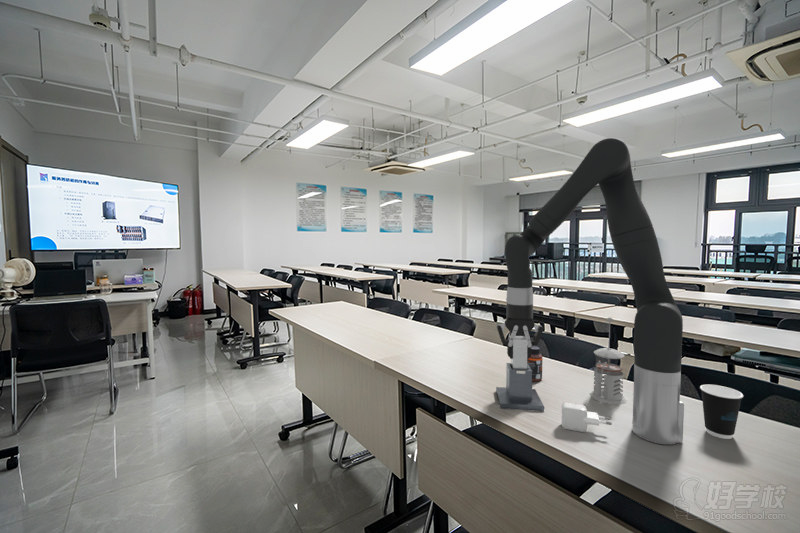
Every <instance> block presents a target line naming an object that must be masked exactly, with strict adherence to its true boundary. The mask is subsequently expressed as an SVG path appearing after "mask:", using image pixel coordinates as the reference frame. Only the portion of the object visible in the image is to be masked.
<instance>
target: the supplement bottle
mask: <svg viewBox="0 0 800 533" xmlns="http://www.w3.org/2000/svg"><path fill="white" fill-rule="evenodd" d="M540 350H541V349H540V347H538V346H532V347H531V357H530V358H529V360H528V359H527V364H528V365H529V367H530V368H531V370H532V382H540V381H542V380H543V355H542V354H541V353H540V352H541V351H540Z"/></svg>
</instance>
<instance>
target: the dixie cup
mask: <svg viewBox="0 0 800 533" xmlns="http://www.w3.org/2000/svg"><path fill="white" fill-rule="evenodd" d="M699 389H700V390H701V400H702V407H703V408H702V410H703V420H704V427H705V430H706V433H708V434H709V435H710V436H713V437H716V438H719V439H723V440H730V439H732V438H733V435H735V433H736V432H735V431H736V426H737V421H738V418H739V417H738V416H739V413H740V408H741V402H742V399H743V398H744V394H743V393H742V392H741V391H739V390H737V389H734V388H732V387H727V386H722V385H718V384H701V385H700V386H699Z"/></svg>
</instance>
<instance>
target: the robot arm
mask: <svg viewBox="0 0 800 533" xmlns="http://www.w3.org/2000/svg"><path fill="white" fill-rule="evenodd" d="M631 163H632V162H631V154H630V151H629V148H628V146H627V144H626V143H625V142H624V141H623V140H622V139H619V138H616V137H607V138H604V139H601V140H599V141H598V142H596V143H595V144H594V145H593V146H592V147H591V148H590V150H589V151H588V153H587V154H586V155H585V157H584V158H583V160H582V161H581V162H580V164H578V167H577V168H576V169H575V170H574V172H573V173H572V174H571V175H570V177H569V178H568V179H567V180H566V182H565V183H564V184H563V185H562V186H561V187H560V188H559V189H558V190H557V191H556V192H555V194H554V195H552V197H551V198H550V199H549V200H548V201H547V202H546V203H544V205H543V206H542V207H541V208H540V209H539V210H538V211H537V212H536V213H535V214H534V215H533V216H532V217H531V218H530V220H529V222H528V225H527V226H526V228H524V229H523V230H522V231H521V233H520V234H515V235H512V236H510V237H509V238H508V239H507V240H506V243H505V246H504V257H505V263H506V270H507V290H506V298H505V302H506V314H505V315H506V318H505V321H504V322H503V323H500V324H499V323H496V325H495V326H496V329H497V332H498V335H499V340H500V341H501V343H502V345H505V346H506V347H507V348H506V350H507V351H506V353H507V357H509V359H510V360H511V359H513V347H512V345H513V339H515V336H524V337H525V339H527V359H528V360H529V358H530V357H531V347H532V346H536V347H538V345H539V343H540V340H541V338H542V335H543V332H544V328H545V327H543V326H542V325H541V324H537V323H535V322H534V293H533V292H534V291H533V271H532V269H531V268H530V257H531V256H532V255H533V254H534V253H535V252H536V251H537V250H538V249H539V248H540V247H541V245H542V244H543V243H544V242H545V240H546V239H547V238H548V237H549V236H550V235H552V234H553V233H554V232H555V231H557V229H558V228H559V227H560V226H561V225H562V224H563V223H564V222H565V221H566V220H567V219H568V217H570V216H571V214H572V213H573V212H574V210H575V209H576V208H577V207H578V205H579V204H580V203H581V201H582V200H583V199H585V197H586V196H587V195H588V194H589V193H590V192H591V191H592V190H593V189H594V188H595V187H596V186H599V189H600V192H601V193H602V196H603V199H604V203H605V211H606V221H607V226H608V231H609V236H610V238H611V239H610V240H611V242H612V245H613V246H612V247H613V249H614V252H615V256H616V257H617V259H618V261H619V264H620V265H621V267H622V269H623V271H624V273H625V275H626V277H627V279H628V280H629V282H630V284H631V285H630V286H631V287H632V288H631V289H632V292H633V295H634V300H635V304H636V305H635V306H636V313H635V316H634V323H633V325H634V326H633V356H634V366H633V394H632V395H633V399H632V402H633V403H632V422H631V424H632V426H631V427H632V428H631V430H632V431H633V433H634V434H635V435H636V436H638V437H640V438H641V439H643V440H646V441H648V442H651V443H655V444H659V445H668V446H669V445H675V444H678V443H683V442H684V440H683V439H684V418H685V417H684V416H685V404H684V402H682V401H681V400H680V399H681V380H682V379H681V377H682V376H681V374H682V373H681V372H682V354H683V351H682V349H683V327H684V323H683V320H684V319H683V314H682V312H681V311H680V309H679V307H678V305H677V303H676V301H675V298H674V296H673V295H672V293H671V289H670V288H669V285H668V283H667V279H666V277H665V271H664V264H663V260H662V259H663V258H662V254H661V250H660V246H659V242H658V239H657V238H658V237H657V235H656V234H657V233H656V232H655V229H654V226H653V223H652V220H651V218H650V215H649V213H648V211H647V208H646V207H645V205H644V203H643V201H642V200H641V197H640V195H639V194H638V191H637V189H636V184H635V179H634V176H633V170H632V165H631ZM505 328H506V329H507V331H509V333H508V338H507V339H506V337H505V334H504V331H505ZM533 329H534V332H535V333H534V335H533V338H532V340H531V337H530V332H532V330H533Z"/></svg>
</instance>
